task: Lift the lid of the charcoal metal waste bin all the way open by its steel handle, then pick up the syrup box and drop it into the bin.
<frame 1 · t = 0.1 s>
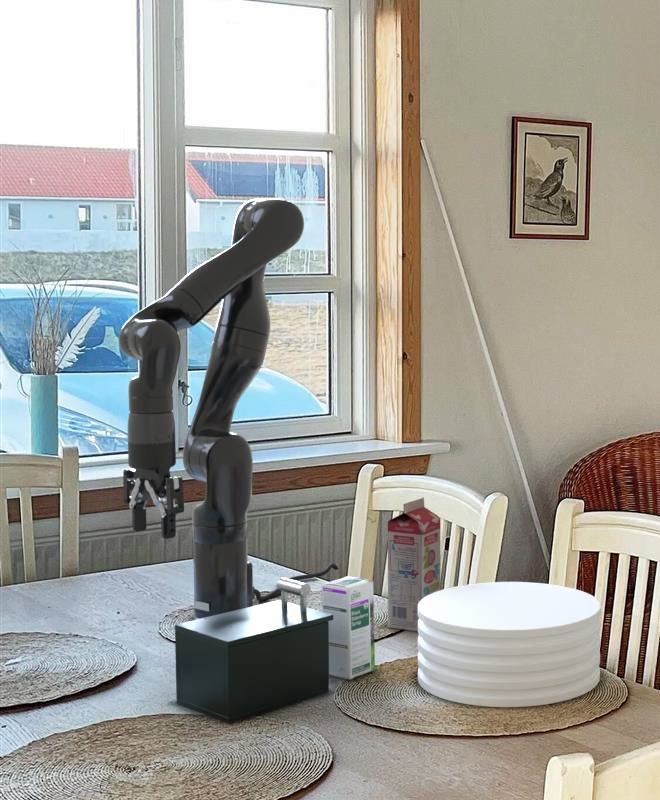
hand: (153, 534, 227), 17 cm above the table, tool pointing down, fingers open, 8 cm apart
bin lid: (255, 607, 197), point 13 cm above the table, hinge at 0.0°
plate stack: (509, 677, 209), on the table
syrup box: (348, 673, 210), on the table
bin: (253, 698, 198), on the table
juice carton: (414, 625, 237), on the table
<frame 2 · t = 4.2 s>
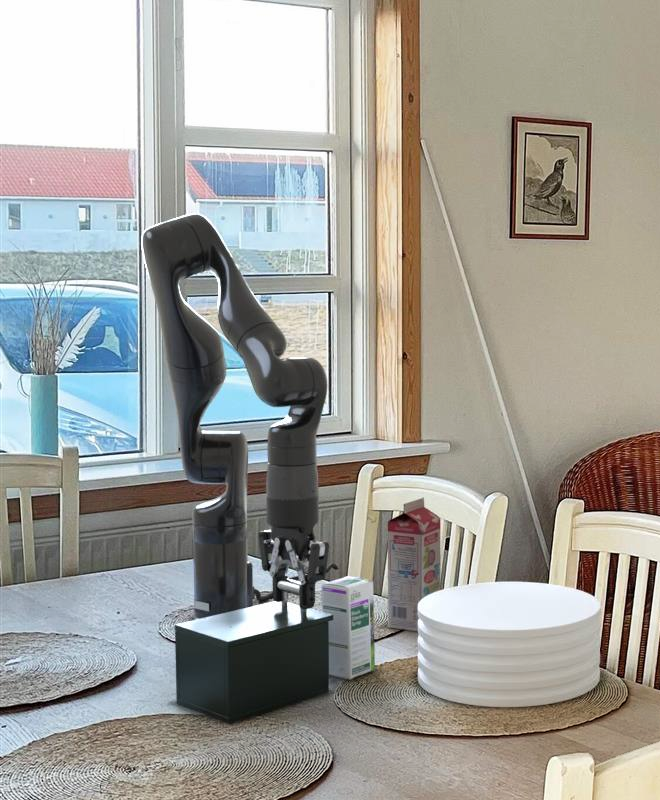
hand: (293, 603, 202), 13 cm above the table, tool pointing down, fingers closed on bin lid, 5 cm apart
bin lid: (255, 607, 197), point 13 cm above the table, hinge at -0.1°, touching gripper
everything else where it was.
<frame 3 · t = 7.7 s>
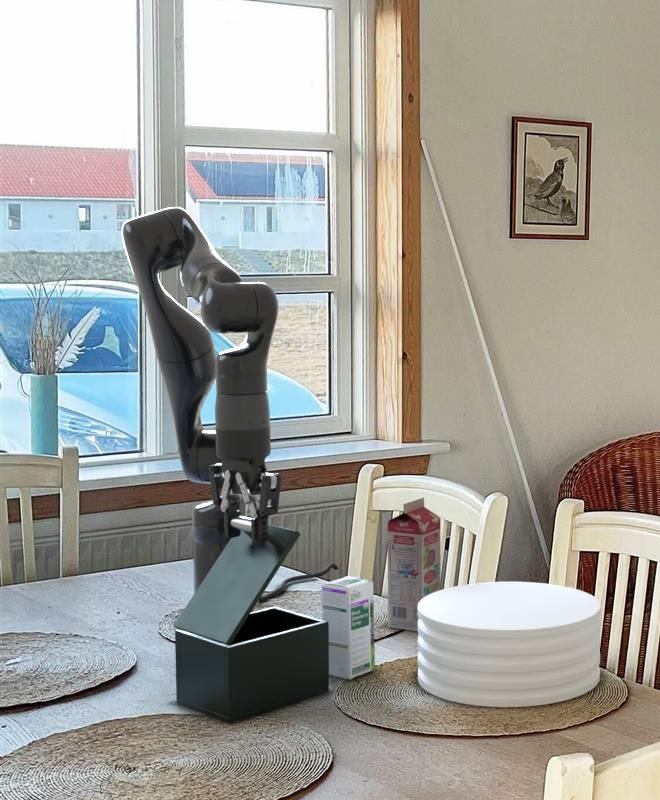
hand: (246, 539, 194), 24 cm above the table, tool pointing down, fingers closed on bin lid, 5 cm apart
bin lid: (227, 571, 192), point 20 cm above the table, hinge at 47.9°, touching gripper
everything else where it was.
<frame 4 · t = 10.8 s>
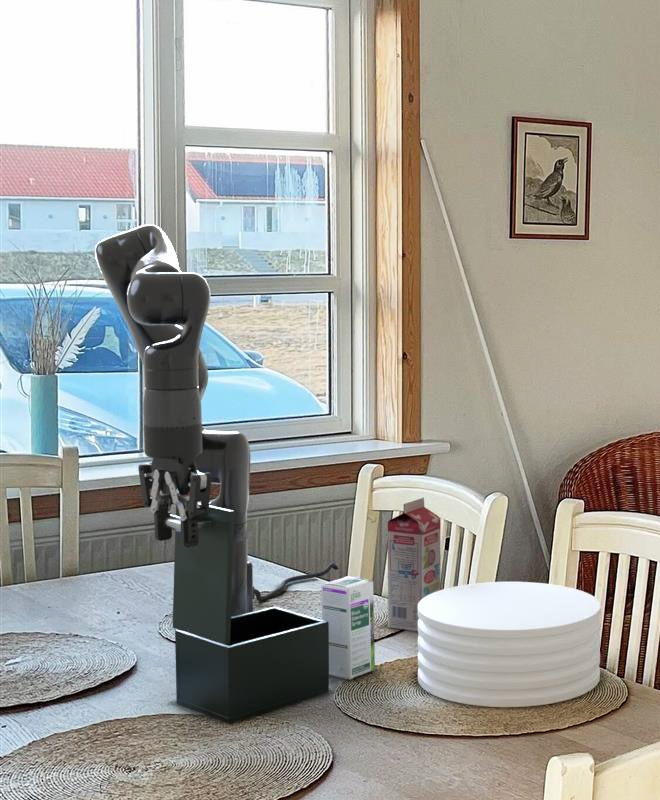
hand: (176, 542, 185), 25 cm above the table, tool pointing down, fingers closed on bin lid, 5 cm apart
bin lid: (188, 572, 187), point 21 cm above the table, hinge at 86.8°, touching gripper
everything else where it was.
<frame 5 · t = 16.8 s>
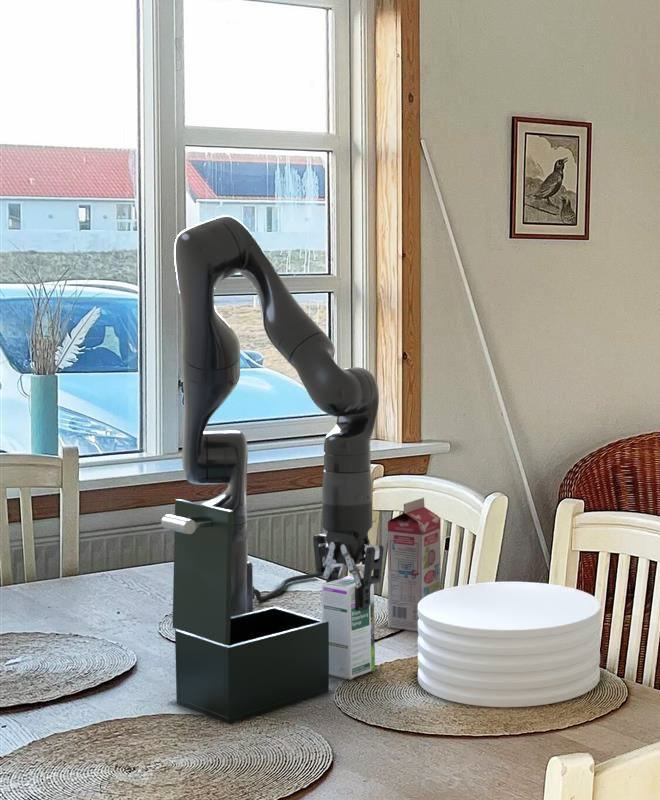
hand: (348, 605, 209), 11 cm above the table, tool pointing down, fingers closed on syrup box, 6 cm apart
bin lid: (188, 572, 187), point 21 cm above the table, hinge at 87.3°
syrup box: (348, 673, 210), on the table, touching gripper
everything else where it was.
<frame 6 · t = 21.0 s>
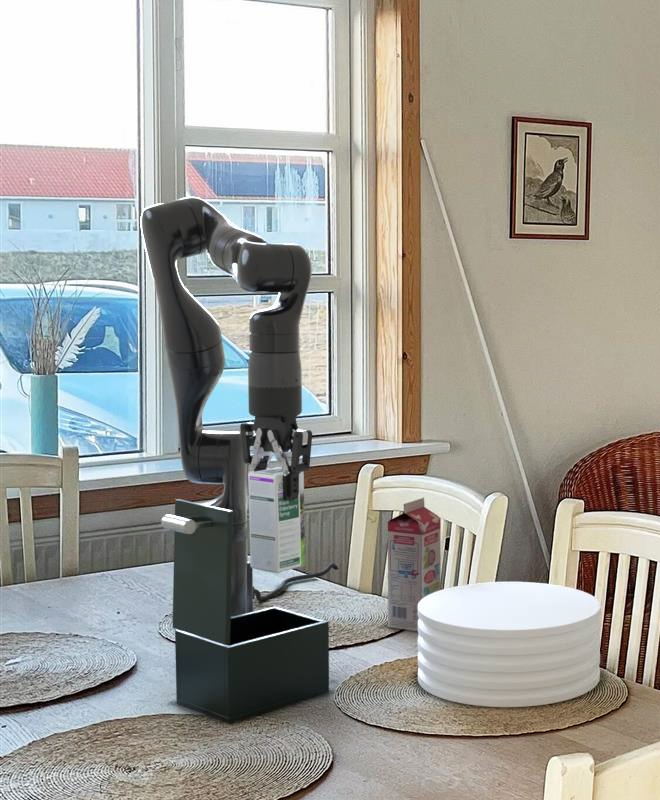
hand: (276, 496, 198), 29 cm above the table, tool pointing down, fingers closed on syrup box, 6 cm apart
syrup box: (277, 568, 199), point 18 cm above the table, touching gripper
everything else where it was.
when the fingers open (11 cm above the table, at t = 25.6 s): syrup box stays where it is, resting on bin.
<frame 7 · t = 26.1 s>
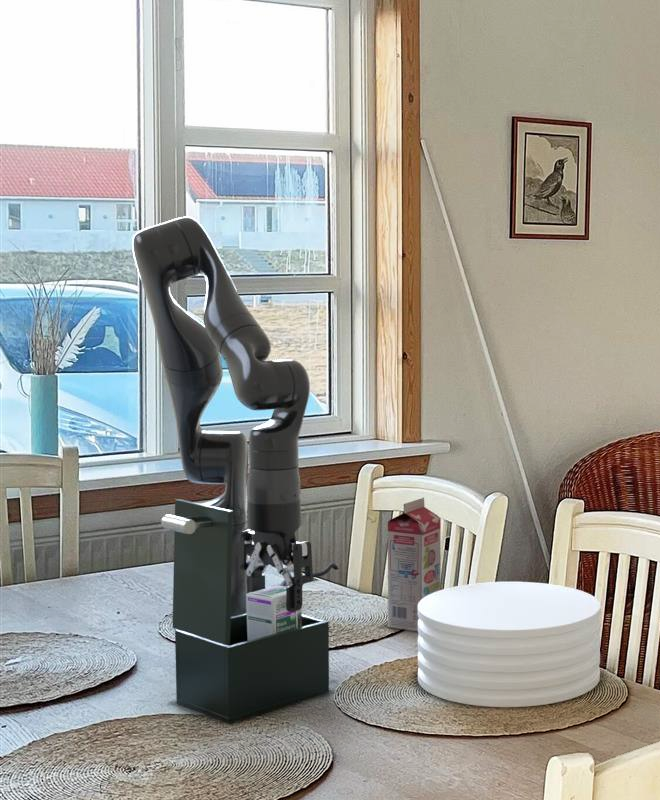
hand: (275, 605, 199), 13 cm above the table, tool pointing down, fingers open, 8 cm apart
syrup box: (275, 687, 201), point 1 cm above the table, touching bin
everything else where it was.
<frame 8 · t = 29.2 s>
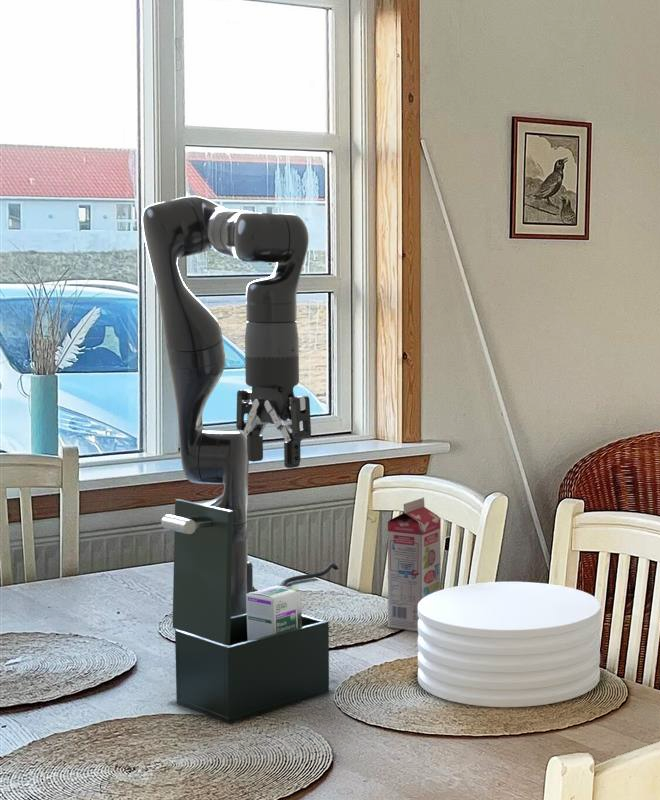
hand: (273, 464, 197), 34 cm above the table, tool pointing down, fingers open, 8 cm apart
nothing on the table moved.
at the end: bin lid at +87° (first picture: +0°); syrup box inside the target area in the bin (4.0 cm from its centre), point 0.6 cm above the bin's base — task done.
